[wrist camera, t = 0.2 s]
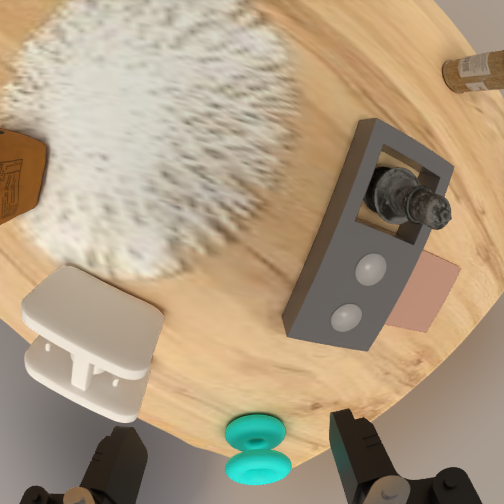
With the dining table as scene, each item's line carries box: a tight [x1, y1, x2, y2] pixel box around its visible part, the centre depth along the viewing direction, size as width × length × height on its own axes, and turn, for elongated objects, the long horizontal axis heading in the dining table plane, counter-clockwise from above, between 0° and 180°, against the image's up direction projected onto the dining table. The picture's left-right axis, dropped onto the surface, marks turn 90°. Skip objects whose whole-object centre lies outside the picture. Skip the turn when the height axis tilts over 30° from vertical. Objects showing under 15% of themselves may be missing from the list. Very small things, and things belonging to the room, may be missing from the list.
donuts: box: [225, 414, 292, 485], centre depth 38 cm, size 10×10×10 cm
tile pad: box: [385, 250, 461, 333], centre depth 34 cm, size 11×11×1 cm
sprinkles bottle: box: [443, 50, 504, 93], centre depth 18 cm, size 5×5×13 cm
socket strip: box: [282, 118, 454, 352], centre depth 29 cm, size 24×11×4 cm, turn 161°
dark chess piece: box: [363, 167, 452, 230], centre depth 24 cm, size 6×6×12 cm
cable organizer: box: [21, 266, 164, 423], centre depth 28 cm, size 15×11×12 cm
